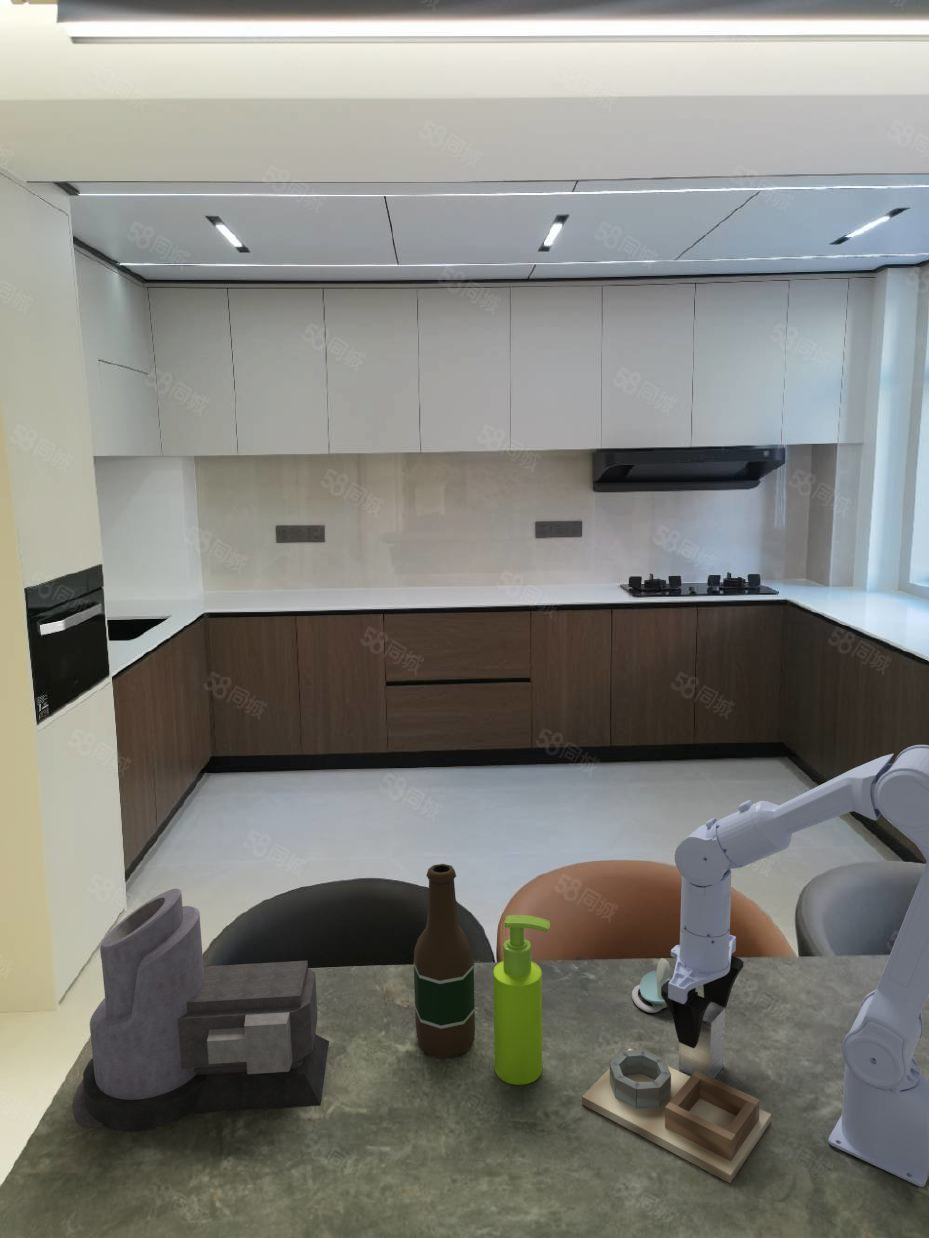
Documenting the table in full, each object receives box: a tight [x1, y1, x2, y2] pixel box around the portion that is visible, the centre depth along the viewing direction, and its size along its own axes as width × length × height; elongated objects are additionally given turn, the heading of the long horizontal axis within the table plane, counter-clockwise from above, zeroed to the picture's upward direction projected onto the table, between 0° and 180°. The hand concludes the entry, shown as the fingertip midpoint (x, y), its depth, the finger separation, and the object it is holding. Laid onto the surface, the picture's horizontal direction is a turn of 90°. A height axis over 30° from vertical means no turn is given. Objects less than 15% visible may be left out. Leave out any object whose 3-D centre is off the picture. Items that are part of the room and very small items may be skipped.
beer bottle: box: [413, 863, 476, 1060], centre depth 109 cm, size 8×8×24 cm
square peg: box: [678, 1002, 726, 1079], centre depth 105 cm, size 4×4×8 cm
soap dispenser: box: [492, 914, 551, 1086], centre depth 104 cm, size 6×7×20 cm
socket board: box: [581, 1048, 772, 1184], centre depth 98 cm, size 18×11×4 cm, turn 50°
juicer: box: [72, 888, 330, 1133], centre depth 103 cm, size 30×16×24 cm, turn 94°
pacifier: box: [631, 957, 671, 1014], centre depth 119 cm, size 7×6×6 cm
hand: (701, 1027), depth 105 cm, fingers open, 7 cm apart
